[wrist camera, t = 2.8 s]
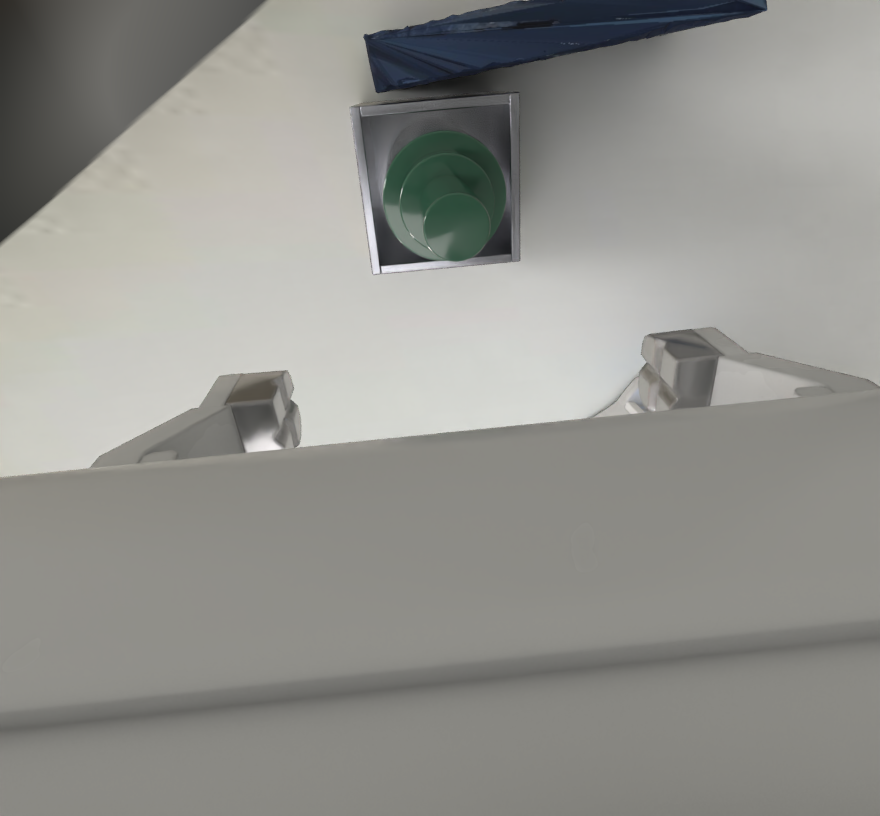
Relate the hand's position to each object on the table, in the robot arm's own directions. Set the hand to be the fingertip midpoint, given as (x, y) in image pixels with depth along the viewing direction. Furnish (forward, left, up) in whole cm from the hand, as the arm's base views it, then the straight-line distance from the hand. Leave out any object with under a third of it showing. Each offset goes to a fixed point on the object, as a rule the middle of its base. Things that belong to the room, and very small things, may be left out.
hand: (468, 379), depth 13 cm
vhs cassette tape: (-7, -8, -29) cm, 30 cm away
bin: (-1, -1, -28) cm, 28 cm away
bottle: (-1, -1, -28) cm, 28 cm away
